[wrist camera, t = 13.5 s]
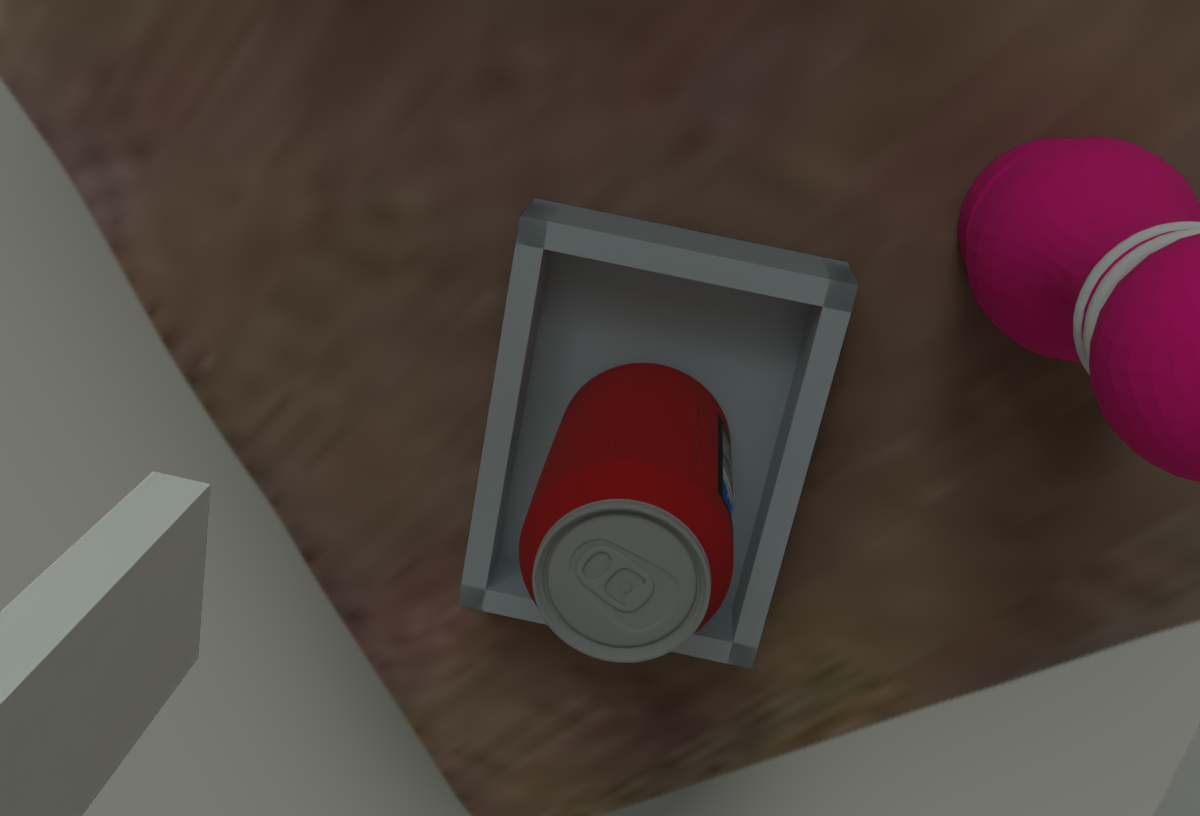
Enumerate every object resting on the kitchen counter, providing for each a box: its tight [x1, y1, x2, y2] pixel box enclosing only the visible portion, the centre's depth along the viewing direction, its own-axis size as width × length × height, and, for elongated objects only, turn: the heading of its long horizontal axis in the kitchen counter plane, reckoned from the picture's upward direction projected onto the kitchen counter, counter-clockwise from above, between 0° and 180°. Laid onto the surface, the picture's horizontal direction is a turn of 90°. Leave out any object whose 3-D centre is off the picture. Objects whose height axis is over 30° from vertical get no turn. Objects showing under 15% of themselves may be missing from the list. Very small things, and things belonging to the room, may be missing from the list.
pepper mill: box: [958, 137, 1200, 482], centre depth 32 cm, size 7×7×20 cm
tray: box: [458, 198, 859, 669], centre depth 43 cm, size 16×12×4 cm
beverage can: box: [519, 363, 734, 663], centre depth 39 cm, size 7×7×12 cm
